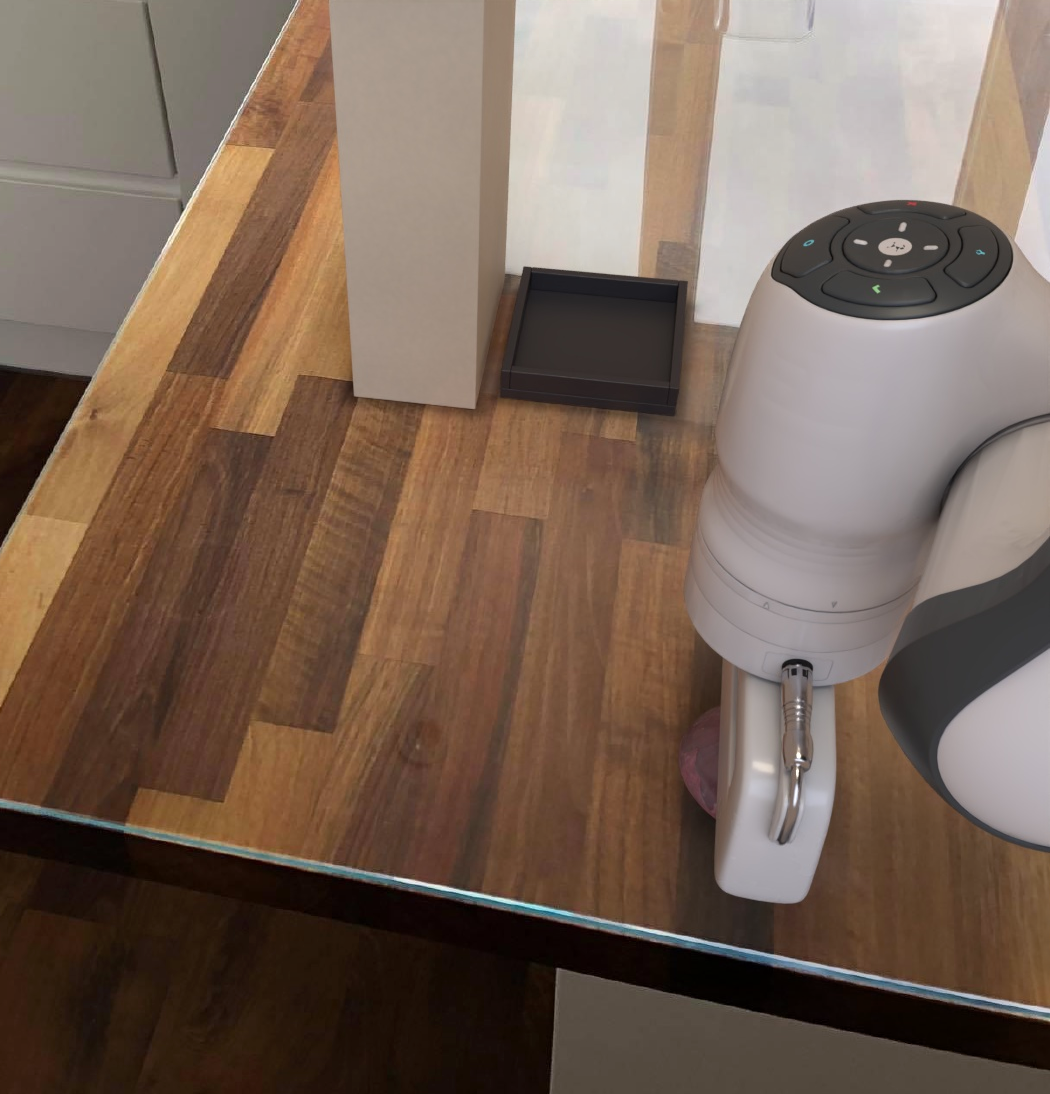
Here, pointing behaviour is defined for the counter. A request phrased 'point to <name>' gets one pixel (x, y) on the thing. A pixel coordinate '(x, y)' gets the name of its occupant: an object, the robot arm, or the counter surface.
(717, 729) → the vegetable
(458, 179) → the column
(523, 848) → the counter surface
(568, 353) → the pan
